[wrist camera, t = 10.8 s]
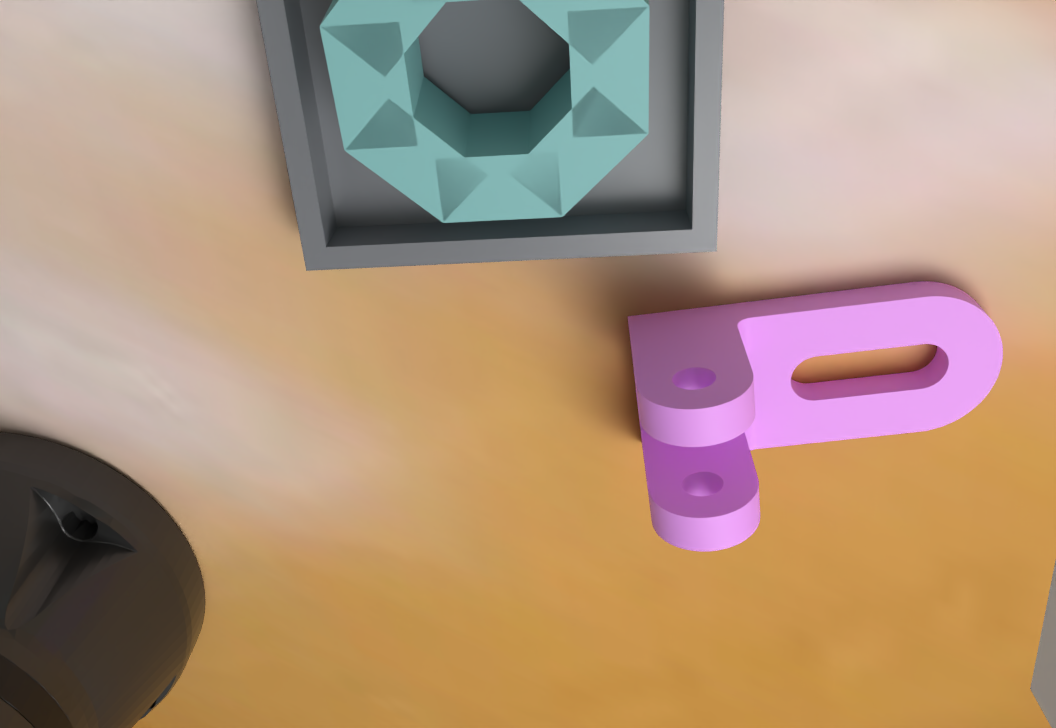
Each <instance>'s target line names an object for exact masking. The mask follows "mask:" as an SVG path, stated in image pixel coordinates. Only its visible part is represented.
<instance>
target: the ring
mask: <svg viewBox="0 0 1056 728" xmlns="http://www.w3.org/2000/svg"><path fill="white" fill-rule="evenodd" d="M457 1H473V0H333V1H332V3H331V5H330V7H329V9H328V11H327V12H326V14H325V16H324V18H323V20H322V22H321V24H320V32H321V37H322V42H323V47H324V51H325V56H326V61H327V66H328V71H329V76H330V81H331V86H332V91H333V96H334V101H335V106H336V111H337V116H338V121H339V126H340V131H341V136H342V141H343V146H344V150H345V151H346V152H347V153H349V154H350V155H351V156H353V157H354V158H355V159H357V160H358V161H359V162H361V163H362V164H364V165H365V166H366V167H368V168H369V169H370V170H372V171H373V172H374V173H376V174H377V175H379V176H380V177H381V178H383V179H384V180H385V181H387V182H388V183H389V184H391V185H392V186H393V187H395V188H396V189H398V190H399V191H400V192H402V193H403V194H404V195H406V196H407V197H408V198H410V199H411V200H413V201H414V202H415V203H417V204H418V205H419V206H421V207H422V208H423V209H425V210H426V211H428V212H429V213H430V214H432V215H433V216H434V217H436V218H437V219H438V220H440V221H441V222H444V223H453V222H473V221H493V220H513V219H534V218H554V217H563V216H564V215H565V214H566V213H567V212H568V211H569V210H570V209H571V208H572V207H573V206H574V205H576V204H577V203H578V202H579V201H580V200H581V199H582V198H583V197H584V196H585V195H586V194H587V193H588V192H589V191H590V190H591V189H592V188H593V187H594V186H595V185H596V184H597V183H598V182H599V181H600V180H601V179H602V178H603V177H604V176H606V175H607V174H608V173H609V172H610V171H611V170H612V169H613V168H614V167H615V166H616V165H617V164H618V163H619V162H620V161H621V160H622V159H623V158H624V157H625V156H626V155H627V154H628V153H629V152H630V151H631V150H632V149H633V148H635V147H636V146H637V145H638V144H639V143H640V142H641V141H642V140H643V139H644V138H645V137H646V136H647V135H648V134H649V7H650V6H649V2H648V0H520V1H521V2H522V3H523V4H524V5H525V6H527V7H528V8H529V9H530V10H531V11H532V12H533V13H534V14H536V15H537V16H538V17H539V18H540V19H541V20H542V21H544V22H545V23H546V24H547V25H548V26H549V27H550V28H551V29H553V30H554V31H555V32H556V33H557V34H558V35H559V36H561V37H562V38H563V39H564V40H565V41H566V42H567V43H568V44H569V54H570V69H569V70H568V71H567V72H566V73H565V74H564V75H563V76H562V77H561V78H560V80H559V81H558V82H557V83H556V84H555V85H554V86H553V87H552V88H551V89H550V90H549V91H548V92H547V93H546V94H545V96H544V97H543V98H542V99H541V100H540V101H539V102H538V103H537V104H536V105H535V106H534V107H533V108H532V109H531V110H530V111H518V112H500V113H482V114H470V113H469V112H468V111H467V110H465V109H464V108H463V107H462V106H460V105H459V104H458V103H457V102H455V101H454V100H453V99H452V98H450V97H449V96H448V95H447V94H445V93H444V92H443V91H442V90H440V89H439V88H438V87H437V86H435V85H434V84H433V83H432V82H430V81H429V80H428V79H427V78H425V77H424V74H423V66H422V59H421V52H420V45H419V38H418V36H419V35H420V33H421V32H422V31H423V30H424V29H425V27H426V26H427V25H428V24H429V22H430V21H431V20H432V19H433V18H434V16H435V15H436V14H437V13H438V11H439V10H440V9H441V8H442V7H443V5H444V4H445V3H446V2H457Z"/></svg>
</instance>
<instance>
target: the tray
mask: <svg viewBox="0 0 1056 728" xmlns="http://www.w3.org/2000/svg"><path fill="white" fill-rule="evenodd" d="M332 1H333V0H256V2H257V7H258V13H259V18H260V23H261V29H262V34H263V40H264V45H265V50H266V56H267V61H268V66H269V72H270V77H271V83H272V88H273V93H274V99H275V104H276V110H277V115H278V120H279V126H280V131H281V136H282V142H283V147H284V153H285V158H286V163H287V169H288V174H289V179H290V185H291V190H292V196H293V201H294V206H295V212H296V217H297V223H298V228H299V233H300V239H301V244H302V249H303V255H304V260H305V266H306V271H309V270H330V269H351V268H373V267H394V266H416V265H437V264H458V263H480V262H501V261H522V260H544V259H565V258H587V257H608V256H629V255H651V254H672V253H694V252H715V251H717V224H718V190H719V157H720V123H721V90H722V56H723V23H724V0H648V2H649V6H650V7H649V134H648V135H647V136H646V137H645V138H644V139H643V140H642V141H641V142H640V143H639V144H638V145H637V146H636V147H635V148H633V149H632V150H631V151H630V152H629V153H628V154H627V155H626V156H625V157H624V158H623V159H622V160H621V161H620V162H619V163H618V164H617V165H616V166H615V167H614V168H613V169H612V170H611V171H610V172H609V173H608V174H607V175H606V176H604V177H603V178H602V179H601V180H600V181H599V182H598V183H597V184H596V185H595V186H594V187H593V188H592V189H591V190H590V191H589V192H588V193H587V194H586V195H585V196H584V197H583V198H582V199H581V200H580V201H579V202H578V203H577V204H576V205H574V206H573V207H572V208H571V209H570V210H569V211H568V212H567V213H566V214H565V215H564V216H563V217H554V218H534V219H513V220H493V221H473V222H453V223H444V222H441V221H440V220H438V219H437V218H436V217H434V216H433V215H432V214H430V213H429V212H428V211H426V210H425V209H423V208H422V207H421V206H419V205H418V204H417V203H415V202H414V201H413V200H411V199H410V198H408V197H407V196H406V195H404V194H403V193H402V192H400V191H399V190H398V189H396V188H395V187H393V186H392V185H391V184H389V183H388V182H387V181H385V180H384V179H383V178H381V177H380V176H379V175H377V174H376V173H374V172H373V171H372V170H370V169H369V168H368V167H366V166H365V165H364V164H362V163H361V162H359V161H358V160H357V159H355V158H354V157H353V156H351V155H350V154H349V153H347V152H346V151H345V150H344V146H343V141H342V136H341V131H340V126H339V121H338V116H337V111H336V106H335V101H334V96H333V91H332V86H331V81H330V76H329V71H328V66H327V61H326V56H325V51H324V47H323V42H322V37H321V32H320V24H321V22H322V20H323V18H324V16H325V14H326V12H327V11H328V9H329V7H330V5H331V3H332ZM418 38H419V45H420V52H421V59H422V66H423V74H424V77H425V78H427V79H428V80H429V81H430V82H432V83H433V84H434V85H435V86H437V87H438V88H439V89H440V90H442V91H443V92H444V93H445V94H447V95H448V96H449V97H450V98H452V99H453V100H454V101H455V102H457V103H458V104H459V105H460V106H462V107H463V108H464V109H465V110H467V111H468V112H469V113H470V114H482V113H500V112H518V111H530V110H531V109H532V108H533V107H534V106H535V105H536V104H537V103H538V102H539V101H540V100H541V99H542V98H543V97H544V96H545V94H546V93H547V92H548V91H549V90H550V89H551V88H552V87H553V86H554V85H555V84H556V83H557V82H558V81H559V80H560V78H561V77H562V76H563V75H564V74H565V73H566V72H567V71H568V70H569V69H570V54H569V44H568V43H567V42H566V41H565V40H564V39H563V38H562V37H561V36H559V35H558V34H557V33H556V32H555V31H554V30H553V29H551V28H550V27H549V26H548V25H547V24H546V23H545V22H544V21H542V20H541V19H540V18H539V17H538V16H537V15H536V14H534V13H533V12H532V11H531V10H530V9H529V8H528V7H527V6H525V5H524V4H523V3H522V2H521V1H520V0H473V1H457V2H446V3H445V4H444V5H443V7H442V8H441V9H440V10H439V11H438V13H437V14H436V15H435V16H434V18H433V19H432V20H431V21H430V22H429V24H428V25H427V26H426V27H425V29H424V30H423V31H422V32H421V33H420V35H419V36H418Z"/></svg>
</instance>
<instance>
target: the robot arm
mask: <svg viewBox="0 0 1056 728" xmlns="http://www.w3.org/2000/svg"><path fill="white" fill-rule="evenodd" d="M204 614H205V591H204V584H203V579H202V575H201V572H200V569H199V566H198V563H197V560H196V558H195V556H194V553H193V551H192V549H191V548H190V546H189V544H188V542H187V540H186V539H185V537H184V536H183V534H182V532H181V531H180V530H179V528H178V527H177V526H176V524H175V523H174V522H173V520H172V519H171V518H170V517H169V516H168V514H167V513H166V512H165V511H164V510H163V509H162V508H161V507H160V506H159V505H158V504H157V503H156V502H155V501H154V500H153V499H152V498H151V497H150V496H149V495H148V494H146V493H145V492H144V491H143V490H141V489H140V488H139V487H138V486H137V485H135V484H134V483H132V482H131V481H130V480H128V479H127V478H126V477H124V476H123V475H121V474H119V473H118V472H116V471H115V470H113V469H112V468H110V467H108V466H106V465H104V464H103V463H101V462H99V461H97V460H95V459H93V458H91V457H89V456H87V455H85V454H82V453H80V452H77V451H75V450H73V449H70V448H67V447H65V446H62V445H59V444H56V443H52V442H49V441H46V440H42V439H38V438H34V437H29V436H24V435H18V434H12V433H3V432H0V728H132V727H133V726H134V725H135V724H136V723H137V721H138V720H140V719H141V718H143V717H144V716H146V715H147V714H148V713H149V712H150V711H151V710H152V709H154V708H155V707H156V706H157V705H158V704H159V703H160V702H161V701H162V700H163V699H164V698H165V697H166V696H167V695H168V693H169V692H170V691H171V689H172V688H173V687H174V685H175V684H176V682H177V681H178V679H179V678H180V676H181V674H182V672H183V670H184V668H185V666H186V664H187V661H188V659H189V657H190V655H191V652H192V650H193V648H194V646H195V643H196V641H197V639H198V636H199V634H200V631H201V628H202V624H203V620H204ZM1030 689H1031V691H1032V693H1033V695H1034V696H1035V698H1036V700H1037V702H1038V704H1039V705H1040V707H1041V709H1042V711H1043V713H1044V715H1045V716H1046V718H1047V720H1048V722H1049V724H1050V725H1051V727H1052V728H1056V561H1055V566H1054V571H1053V577H1052V582H1051V587H1050V592H1049V597H1048V602H1047V607H1046V612H1045V617H1044V622H1043V627H1042V632H1041V637H1040V643H1039V648H1038V653H1037V658H1036V663H1035V668H1034V673H1033V678H1032V683H1031V688H1030Z"/></svg>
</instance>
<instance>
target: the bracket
mask: <svg viewBox="0 0 1056 728" xmlns="http://www.w3.org/2000/svg"><path fill="white" fill-rule="evenodd" d="M628 325H629V334H630V342H631V351H632V360H633V369H634V377H635V386H636V395H637V404H638V412H639V421H640V430H641V439H642V447H643V455H644V463H645V471H646V479H647V487H648V495H649V503H650V511H651V519H652V525H653V527H654V529H655V531H656V533H657V534H658V535H659V536H660V537H661V538H662V539H663V540H665V541H666V542H668V543H670V544H672V545H674V546H676V547H679V548H682V549H686V550H692V551H716V550H722V549H726V548H729V547H732V546H735V545H737V544H739V543H741V542H743V541H744V540H746V539H747V538H749V537H750V536H751V535H752V534H753V533H754V532H755V530H756V529H757V527H758V525H759V522H760V501H759V481H758V477H757V473H756V470H755V467H754V463H753V460H752V456H751V453H750V451H751V450H754V449H761V448H770V447H779V446H789V445H798V444H808V443H817V442H826V441H836V440H845V439H855V438H864V437H873V436H883V435H892V434H902V433H911V432H920V431H927V430H931V429H935V428H939V427H942V426H945V425H947V424H949V423H952V422H954V421H956V420H957V419H959V418H961V417H963V416H964V415H966V414H967V413H969V412H970V411H971V410H972V409H974V408H975V407H976V406H977V405H978V404H979V403H980V402H981V401H982V400H983V399H984V398H985V397H986V395H987V394H988V393H989V391H990V390H991V389H992V387H993V385H994V384H995V382H996V379H997V377H998V375H999V372H1000V369H1001V365H1002V358H1003V346H1002V341H1001V337H1000V334H999V332H998V330H997V328H996V326H995V324H994V323H993V321H992V320H991V319H990V318H989V316H988V315H987V314H986V313H985V312H984V310H983V309H982V308H981V307H980V306H979V304H978V303H977V302H976V301H975V300H974V299H973V298H972V297H971V296H969V295H968V294H967V293H965V292H964V291H962V290H960V289H958V288H956V287H954V286H951V285H948V284H944V283H940V282H932V281H918V282H908V283H900V284H892V285H884V286H875V287H867V288H859V289H850V290H842V291H834V292H825V293H817V294H809V295H801V296H792V297H784V298H776V299H767V300H759V301H751V302H743V303H734V304H726V305H718V306H709V307H701V308H693V309H685V310H676V311H668V312H660V313H651V314H643V315H635V316H628ZM919 344H933V345H936V346H937V352H936V355H935V357H934V358H933V360H932V361H931V362H930V363H929V364H928V365H927V366H925V367H924V368H922V369H920V370H917V371H913V372H906V373H897V374H888V375H879V376H870V377H861V378H852V379H843V380H834V381H825V382H816V383H799V382H796V381H794V380H792V379H791V375H792V373H793V371H794V369H795V368H796V366H797V365H798V364H800V363H801V362H802V361H804V360H806V359H808V358H811V357H815V356H823V355H832V354H841V353H850V352H858V351H867V350H876V349H884V348H893V347H902V346H911V345H919Z"/></svg>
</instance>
